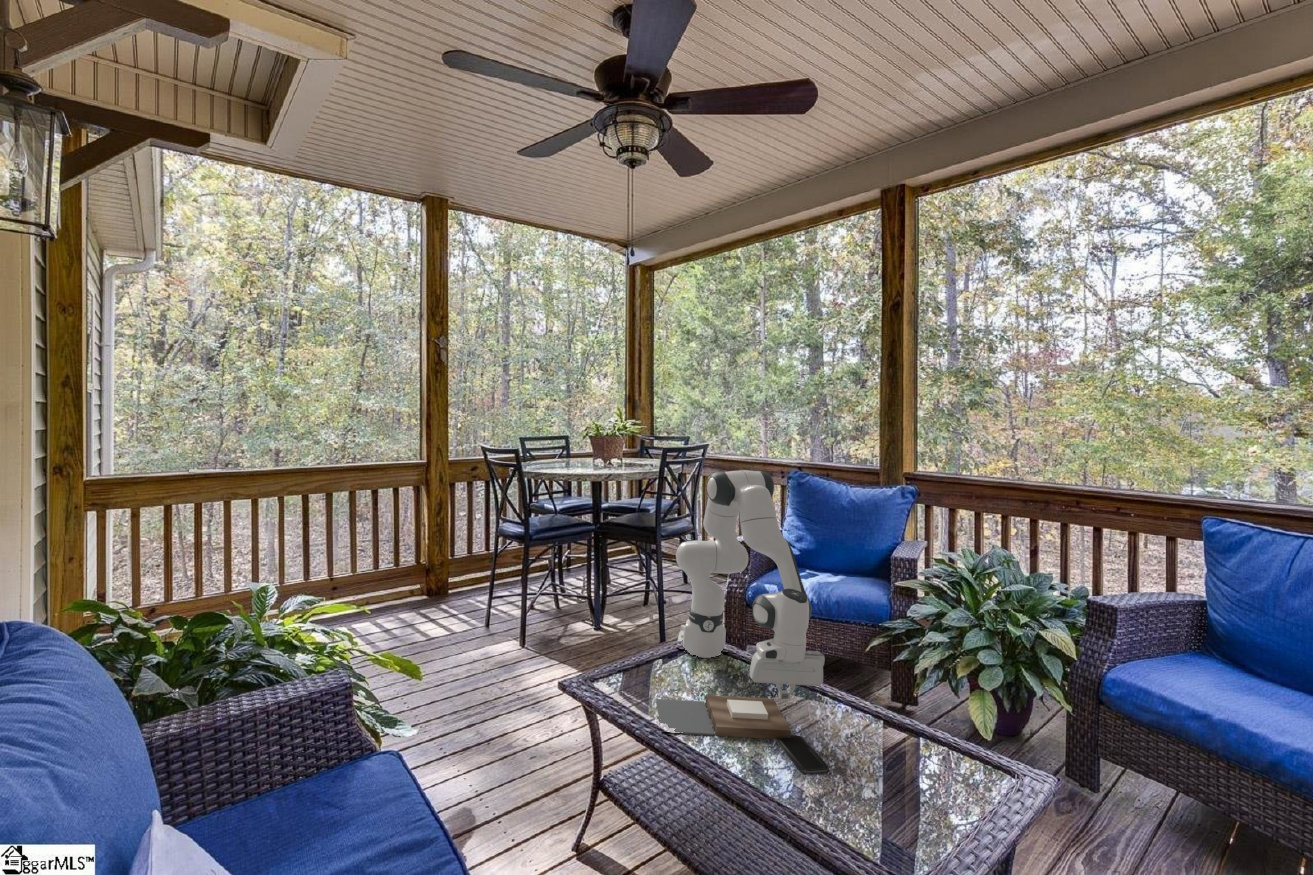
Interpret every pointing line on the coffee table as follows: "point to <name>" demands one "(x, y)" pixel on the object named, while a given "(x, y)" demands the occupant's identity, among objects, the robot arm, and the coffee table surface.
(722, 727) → the wooden board
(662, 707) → the mat
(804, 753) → the phone
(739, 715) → the tile
